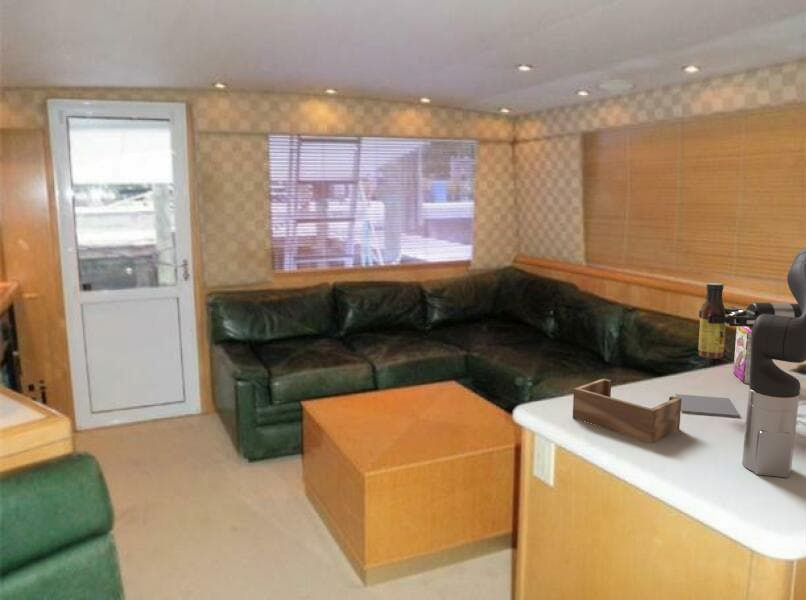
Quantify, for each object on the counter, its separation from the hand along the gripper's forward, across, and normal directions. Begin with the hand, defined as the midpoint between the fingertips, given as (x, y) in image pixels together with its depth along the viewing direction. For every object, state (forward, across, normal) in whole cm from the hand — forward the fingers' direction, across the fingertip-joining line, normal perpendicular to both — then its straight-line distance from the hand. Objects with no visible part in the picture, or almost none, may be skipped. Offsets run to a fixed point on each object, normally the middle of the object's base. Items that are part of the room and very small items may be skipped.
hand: (704, 316), depth 171 cm
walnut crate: (+23, +15, +25) cm, 37 cm away
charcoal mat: (-2, 0, +25) cm, 25 cm away
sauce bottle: (-2, 0, +11) cm, 11 cm away
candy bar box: (-23, -27, +26) cm, 44 cm away
